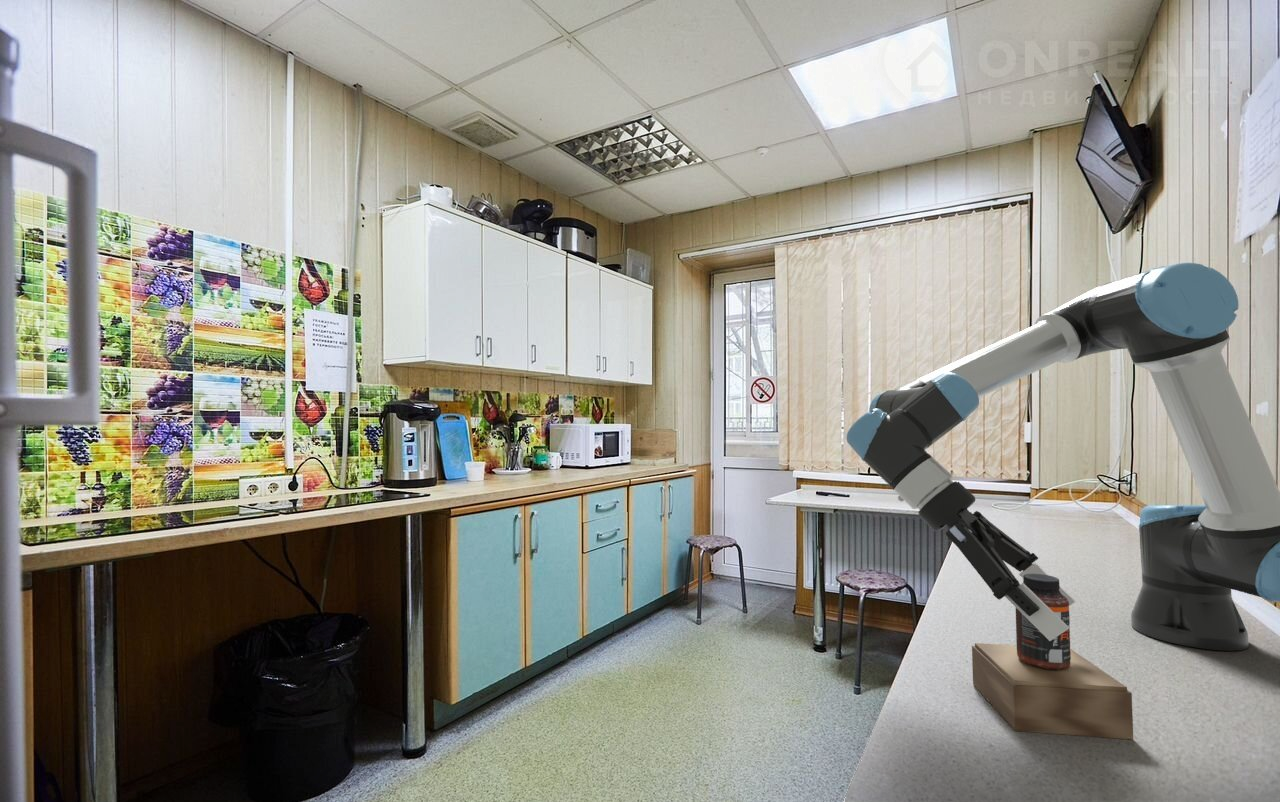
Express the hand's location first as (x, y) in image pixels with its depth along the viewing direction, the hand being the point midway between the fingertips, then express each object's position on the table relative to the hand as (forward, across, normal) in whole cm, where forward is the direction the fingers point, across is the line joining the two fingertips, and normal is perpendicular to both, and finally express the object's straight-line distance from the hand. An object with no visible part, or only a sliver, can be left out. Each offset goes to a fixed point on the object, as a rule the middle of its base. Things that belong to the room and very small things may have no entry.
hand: (1064, 619), depth 76 cm
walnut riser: (+7, 0, -10) cm, 12 cm away
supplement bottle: (+3, 0, -6) cm, 7 cm away
